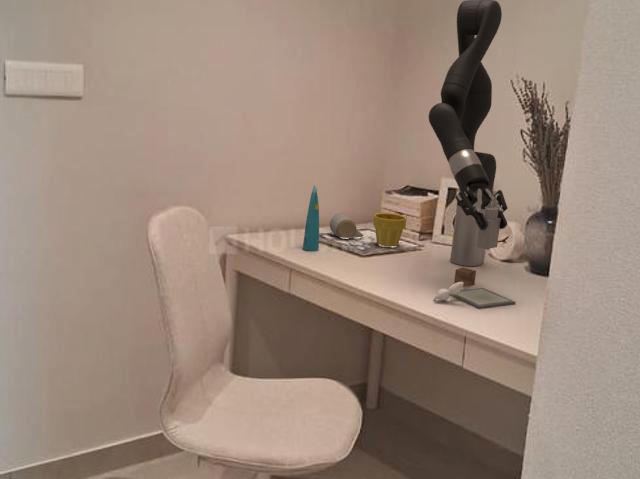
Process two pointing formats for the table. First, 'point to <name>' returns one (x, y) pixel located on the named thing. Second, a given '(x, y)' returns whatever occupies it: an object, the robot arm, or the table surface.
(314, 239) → the tube
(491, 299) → the pad
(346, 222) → the ceramic mug
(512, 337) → the table surface
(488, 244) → the power adapter
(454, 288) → the rabbit figurine
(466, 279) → the walnut block
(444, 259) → the table surface
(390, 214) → the plant pot
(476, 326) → the table surface
